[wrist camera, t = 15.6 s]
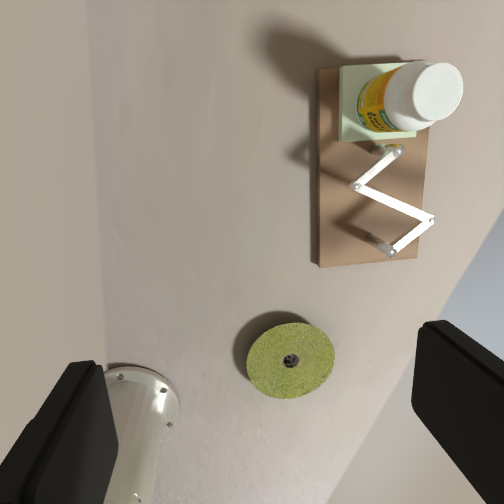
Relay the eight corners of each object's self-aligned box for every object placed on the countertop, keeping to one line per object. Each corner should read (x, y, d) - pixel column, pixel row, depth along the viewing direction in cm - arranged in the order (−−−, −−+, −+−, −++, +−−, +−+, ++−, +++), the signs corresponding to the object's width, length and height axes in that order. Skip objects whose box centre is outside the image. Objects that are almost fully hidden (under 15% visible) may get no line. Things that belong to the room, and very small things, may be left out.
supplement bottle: (414, 89, 34) (487, 71, 25) (388, 141, 36) (449, 142, 26) (368, 65, 33) (427, 37, 24) (344, 120, 34) (391, 113, 25)
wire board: (412, 255, 42) (416, 258, 41) (317, 264, 41) (320, 267, 40) (429, 64, 36) (435, 62, 35) (316, 70, 35) (319, 68, 34)
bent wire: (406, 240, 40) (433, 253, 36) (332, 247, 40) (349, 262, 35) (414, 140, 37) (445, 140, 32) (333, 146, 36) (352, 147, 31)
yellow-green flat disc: (332, 379, 47) (337, 389, 45) (252, 396, 46) (254, 407, 44) (326, 307, 43) (331, 315, 41) (238, 324, 43) (239, 333, 41)
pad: (410, 136, 37) (416, 136, 36) (338, 142, 36) (341, 142, 35) (416, 63, 34) (422, 61, 34) (339, 67, 34) (343, 65, 33)
